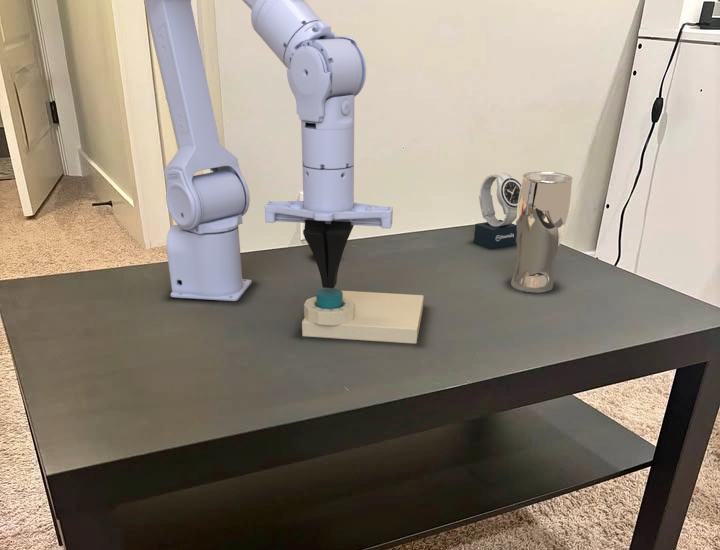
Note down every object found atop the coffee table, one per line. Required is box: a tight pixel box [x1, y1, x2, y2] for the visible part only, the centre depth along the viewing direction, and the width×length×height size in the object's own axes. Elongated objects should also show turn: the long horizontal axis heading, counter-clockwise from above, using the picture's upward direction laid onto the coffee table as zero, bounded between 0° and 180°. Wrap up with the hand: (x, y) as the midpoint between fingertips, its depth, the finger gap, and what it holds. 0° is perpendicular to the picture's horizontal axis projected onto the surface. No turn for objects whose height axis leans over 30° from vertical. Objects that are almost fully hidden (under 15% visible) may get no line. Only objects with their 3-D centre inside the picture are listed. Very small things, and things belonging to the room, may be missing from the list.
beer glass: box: [510, 171, 573, 294], centre depth 103 cm, size 7×7×15 cm
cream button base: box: [301, 290, 425, 344], centre depth 94 cm, size 14×12×4 cm
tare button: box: [315, 287, 343, 309], centre depth 90 cm, size 3×3×2 cm
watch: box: [473, 173, 522, 250], centre depth 122 cm, size 6×8×11 cm
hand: (329, 285), depth 89 cm, fingers closed
